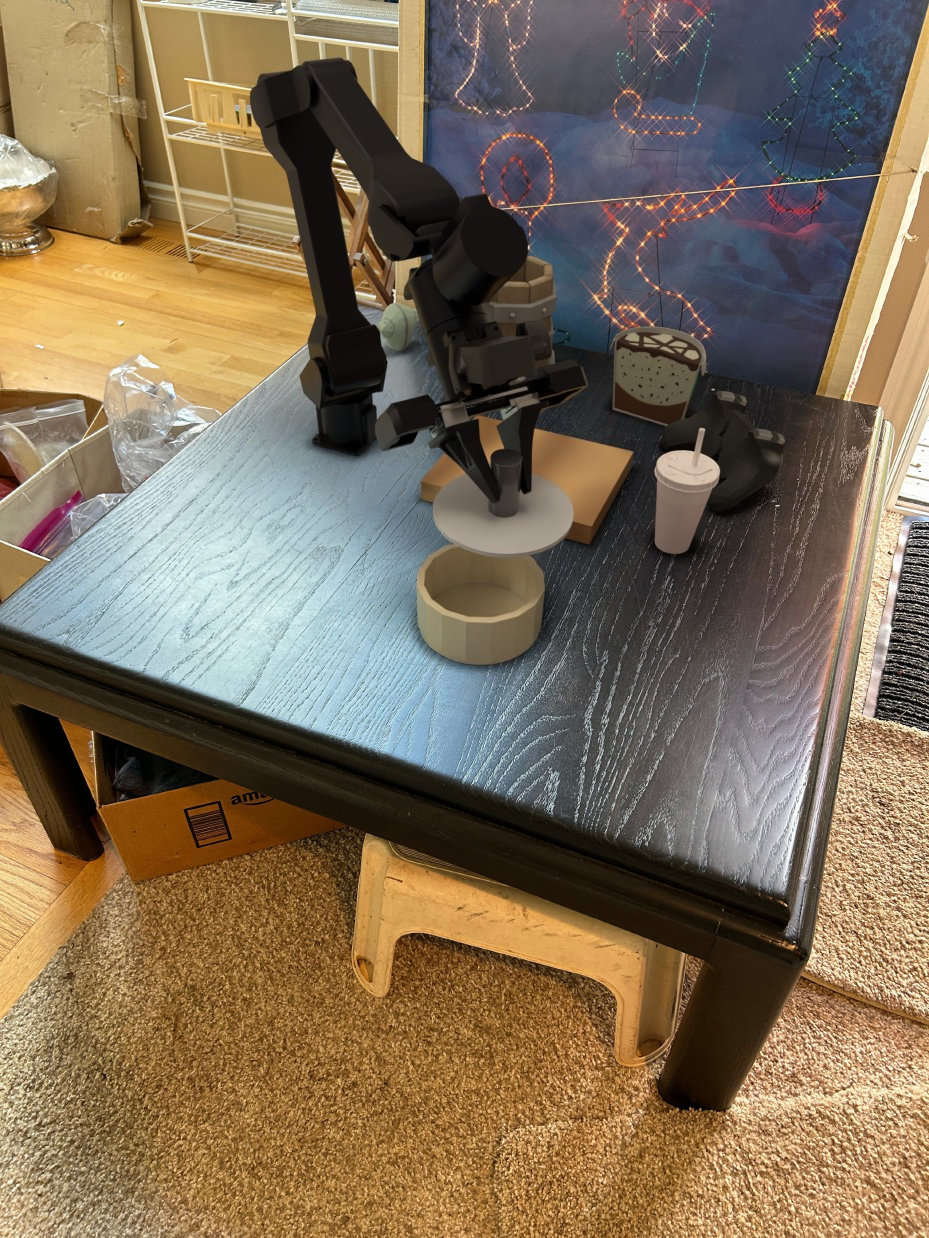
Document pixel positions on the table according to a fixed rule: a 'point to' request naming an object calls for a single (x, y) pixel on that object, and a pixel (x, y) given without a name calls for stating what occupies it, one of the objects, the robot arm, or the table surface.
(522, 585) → the tin
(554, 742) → the table surface
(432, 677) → the table surface
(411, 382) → the table surface
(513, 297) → the tankard
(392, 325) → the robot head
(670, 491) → the smoothie
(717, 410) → the game controller
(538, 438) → the board
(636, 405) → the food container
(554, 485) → the lid
